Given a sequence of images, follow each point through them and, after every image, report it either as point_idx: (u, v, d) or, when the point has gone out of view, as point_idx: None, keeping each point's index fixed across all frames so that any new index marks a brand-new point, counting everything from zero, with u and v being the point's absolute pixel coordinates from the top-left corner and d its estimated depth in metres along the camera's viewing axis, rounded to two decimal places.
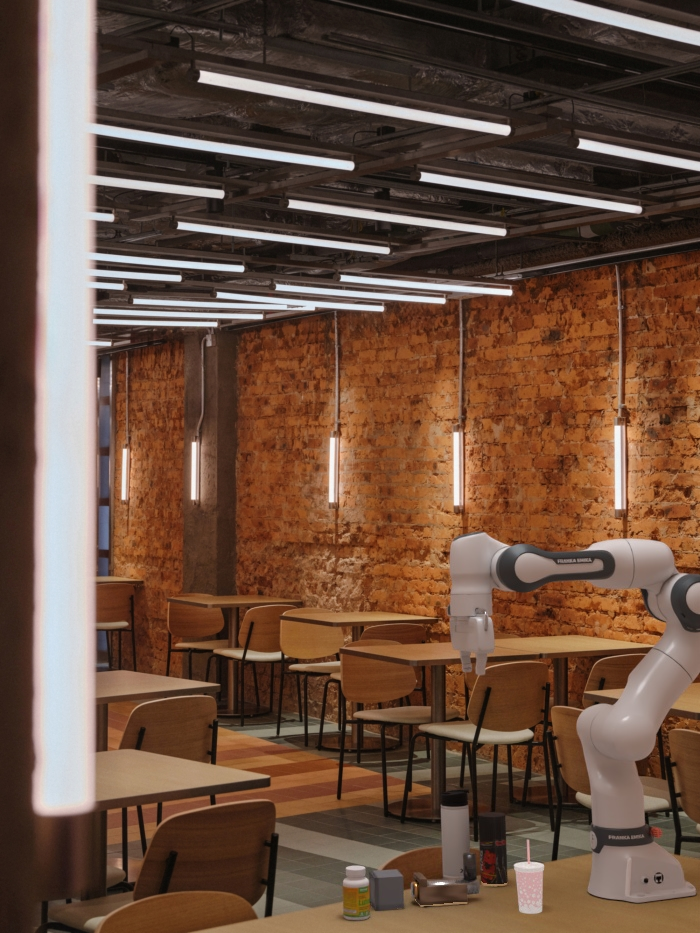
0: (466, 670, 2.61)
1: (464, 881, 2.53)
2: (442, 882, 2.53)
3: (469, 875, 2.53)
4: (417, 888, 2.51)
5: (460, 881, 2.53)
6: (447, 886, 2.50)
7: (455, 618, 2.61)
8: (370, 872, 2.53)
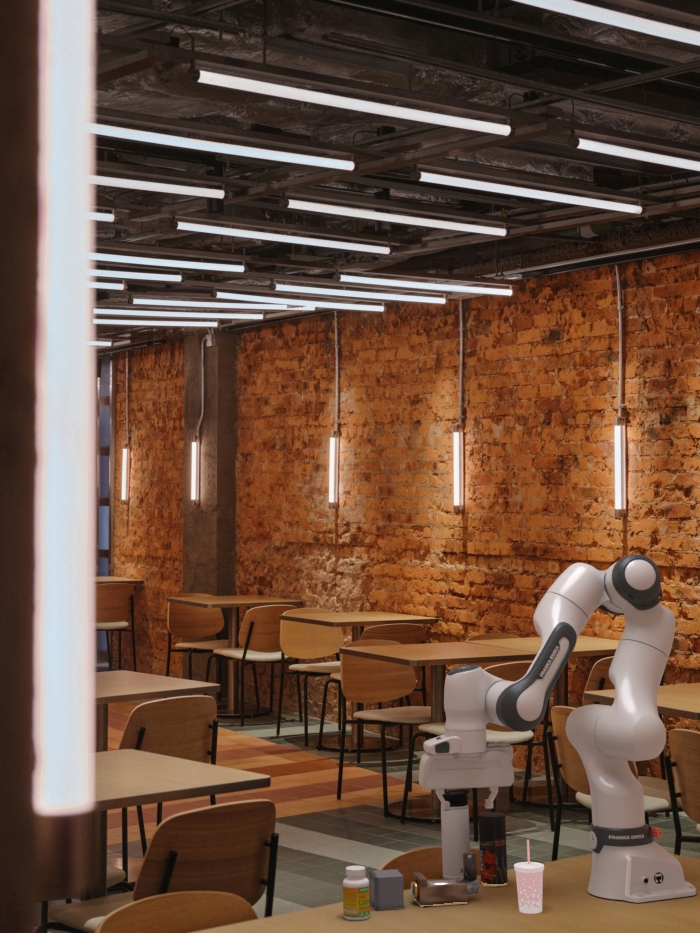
0: None
1: (464, 881, 2.53)
2: (442, 882, 2.53)
3: (469, 875, 2.53)
4: (417, 888, 2.51)
5: (460, 881, 2.53)
6: (447, 886, 2.50)
7: (453, 755, 2.54)
8: (370, 872, 2.53)
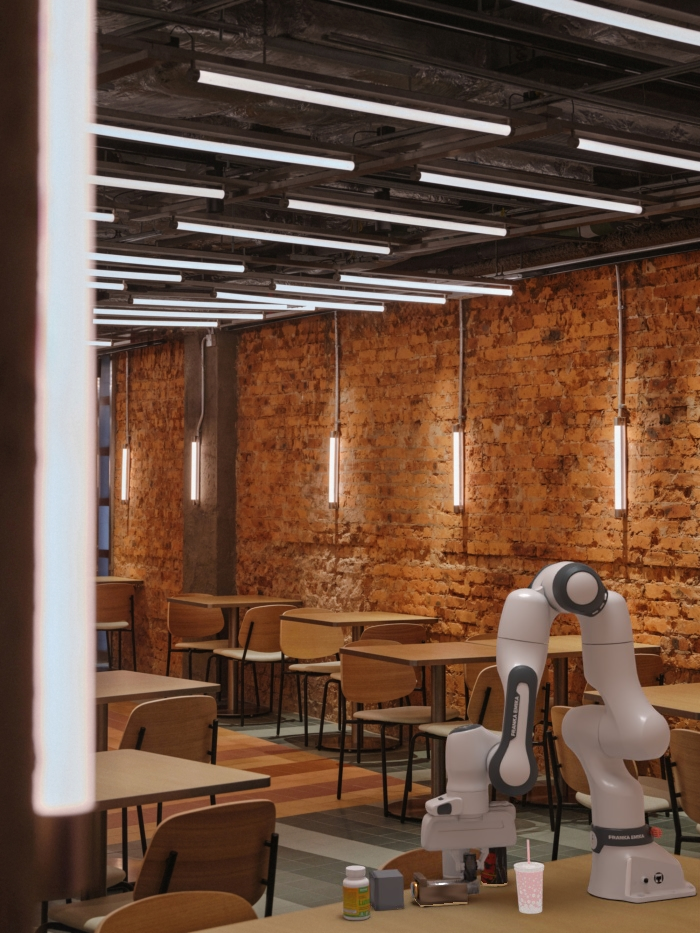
0: None
1: (464, 881, 2.53)
2: (442, 882, 2.53)
3: (469, 875, 2.53)
4: (417, 888, 2.51)
5: (460, 881, 2.53)
6: (447, 886, 2.50)
7: (455, 816, 2.53)
8: (370, 872, 2.53)
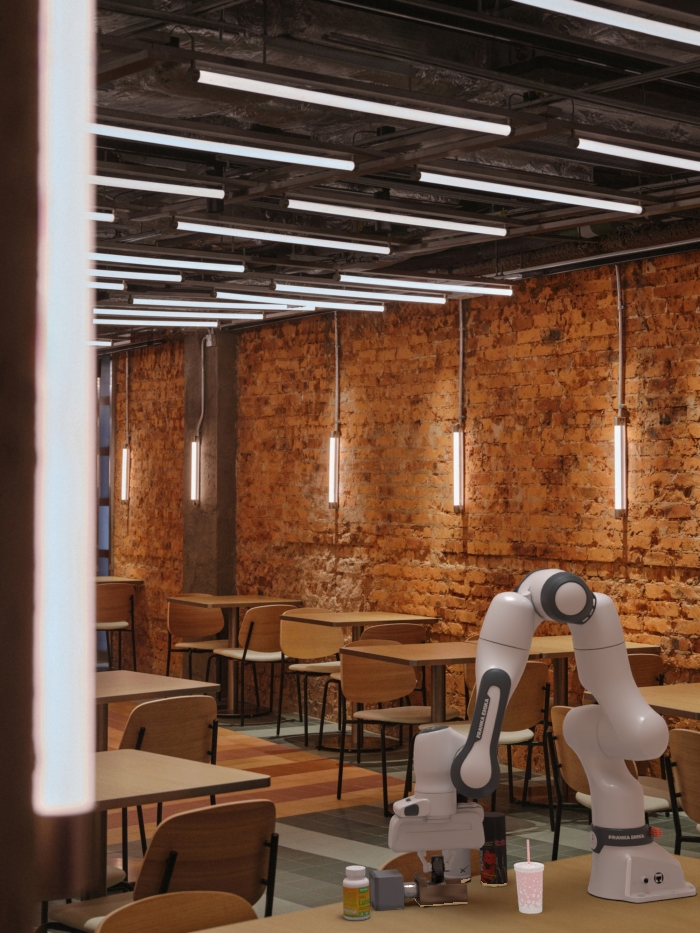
0: None
1: (431, 883, 2.52)
2: (409, 884, 2.51)
3: (436, 877, 2.52)
4: None
5: (427, 883, 2.52)
6: (447, 886, 2.50)
7: (422, 818, 2.51)
8: (370, 872, 2.53)
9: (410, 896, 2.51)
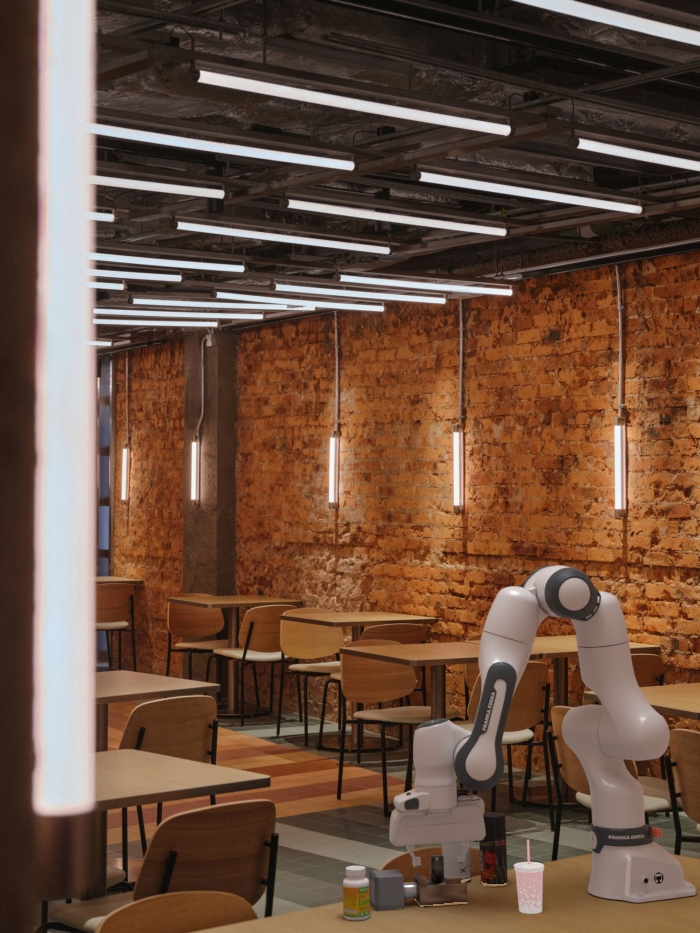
0: None
1: (431, 883, 2.52)
2: (409, 884, 2.51)
3: (436, 877, 2.52)
4: None
5: (427, 883, 2.52)
6: (447, 886, 2.50)
7: (423, 811, 2.52)
8: (370, 872, 2.53)
9: (410, 896, 2.51)
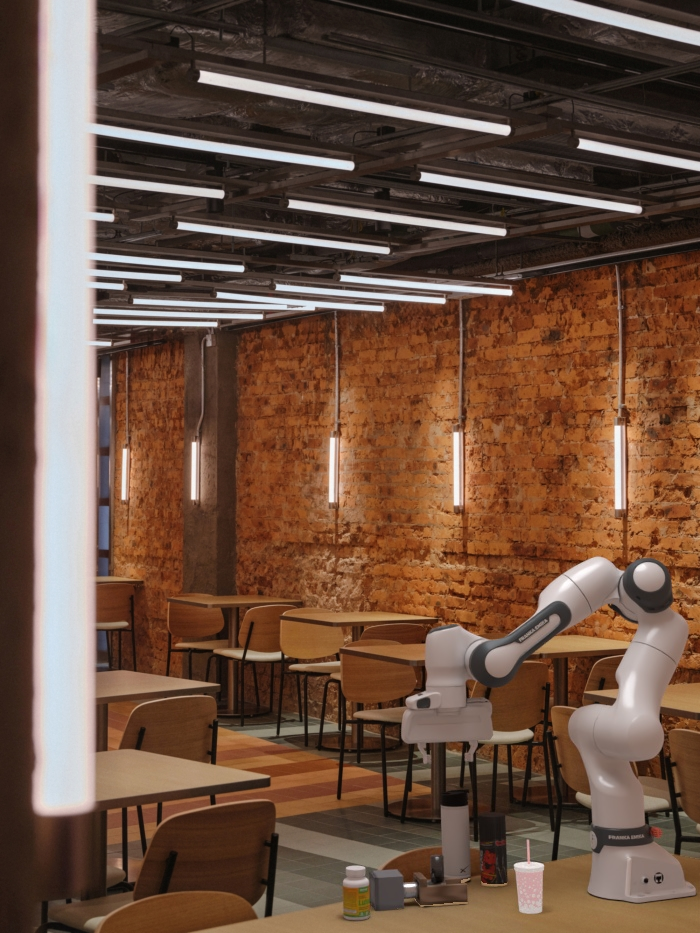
0: None
1: (431, 883, 2.52)
2: (409, 884, 2.51)
3: (436, 877, 2.52)
4: None
5: (427, 883, 2.52)
6: (447, 886, 2.50)
7: (434, 710, 2.64)
8: (370, 872, 2.53)
9: (410, 896, 2.51)
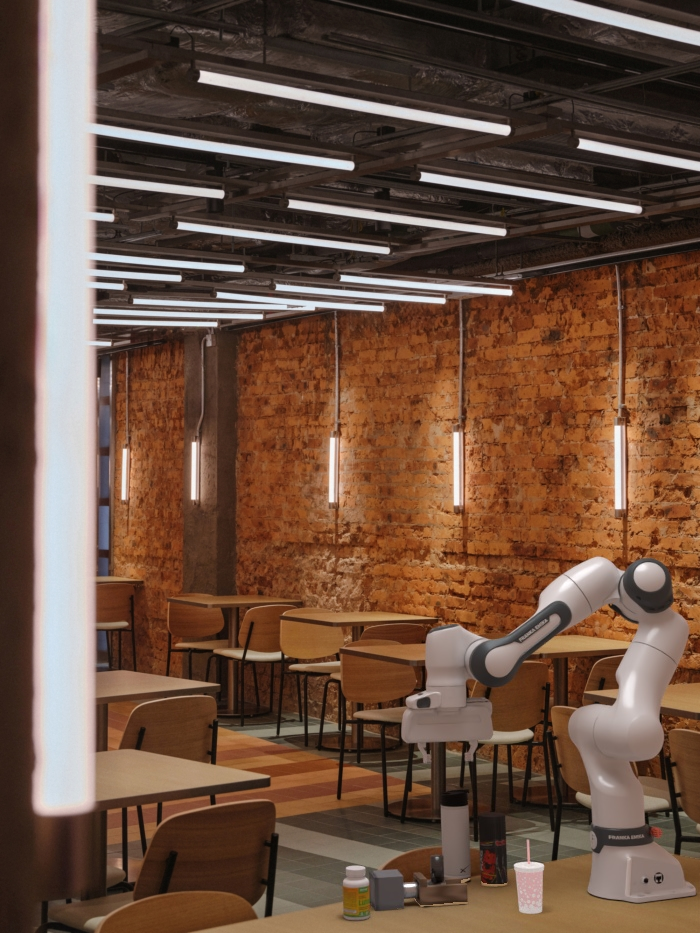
0: None
1: (431, 883, 2.52)
2: (409, 884, 2.51)
3: (436, 877, 2.52)
4: None
5: (427, 883, 2.52)
6: (447, 886, 2.50)
7: (434, 710, 2.64)
8: (370, 872, 2.53)
9: (410, 896, 2.51)
